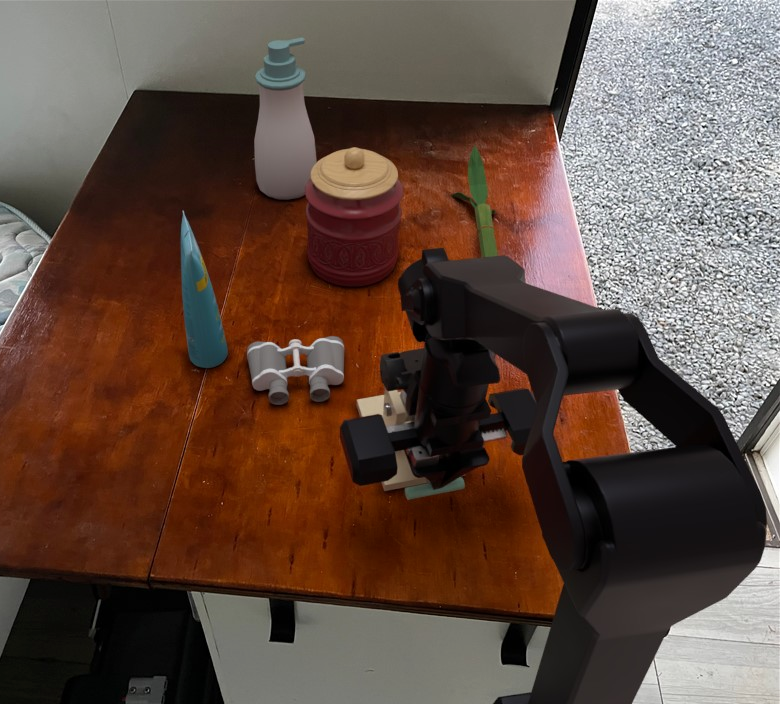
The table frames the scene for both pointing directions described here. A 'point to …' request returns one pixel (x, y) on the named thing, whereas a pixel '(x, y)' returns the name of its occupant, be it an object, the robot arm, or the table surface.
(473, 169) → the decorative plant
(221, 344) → the tube
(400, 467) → the toaster bracket
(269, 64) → the soap bottle
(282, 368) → the binoculars
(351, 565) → the table surface
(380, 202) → the kitchen canister
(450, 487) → the lever
